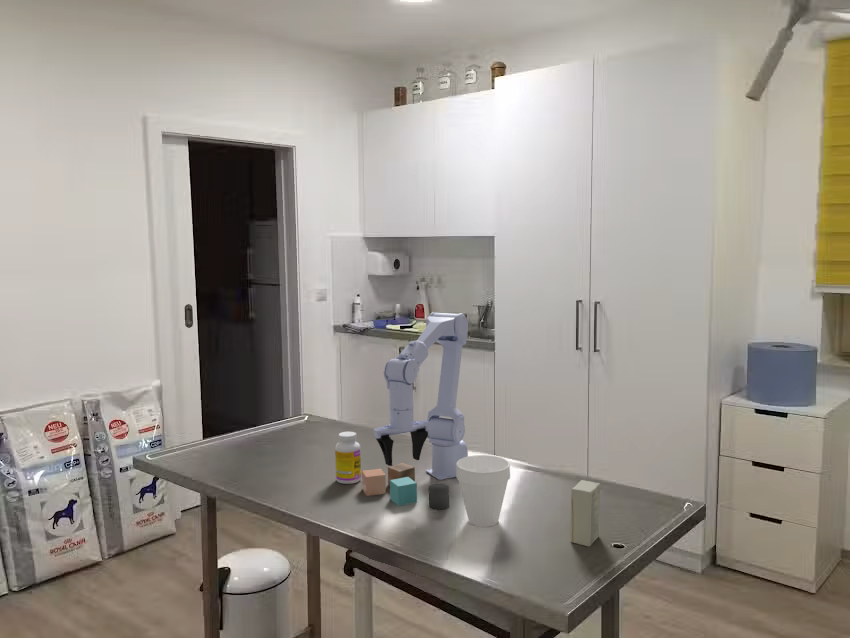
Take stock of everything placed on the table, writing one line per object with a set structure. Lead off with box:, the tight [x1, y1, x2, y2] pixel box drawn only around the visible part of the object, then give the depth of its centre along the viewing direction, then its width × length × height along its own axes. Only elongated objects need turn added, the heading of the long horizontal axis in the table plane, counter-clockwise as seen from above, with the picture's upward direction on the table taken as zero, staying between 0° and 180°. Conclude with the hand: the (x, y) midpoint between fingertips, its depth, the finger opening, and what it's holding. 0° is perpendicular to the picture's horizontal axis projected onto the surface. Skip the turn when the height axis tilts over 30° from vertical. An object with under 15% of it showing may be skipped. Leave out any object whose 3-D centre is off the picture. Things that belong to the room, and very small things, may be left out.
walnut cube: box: [387, 462, 416, 487], centre depth 189 cm, size 5×5×5 cm
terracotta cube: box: [361, 468, 387, 497], centre depth 185 cm, size 5×5×5 cm
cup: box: [455, 454, 511, 528], centre depth 165 cm, size 12×12×14 cm
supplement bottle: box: [334, 431, 362, 485], centre depth 193 cm, size 7×7×13 cm
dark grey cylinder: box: [427, 482, 450, 511], centre depth 175 cm, size 5×5×5 cm
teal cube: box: [389, 477, 418, 507], centre depth 179 cm, size 5×5×5 cm
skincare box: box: [570, 479, 601, 547], centre depth 154 cm, size 6×4×12 cm
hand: (402, 461), depth 178 cm, fingers open, 7 cm apart
